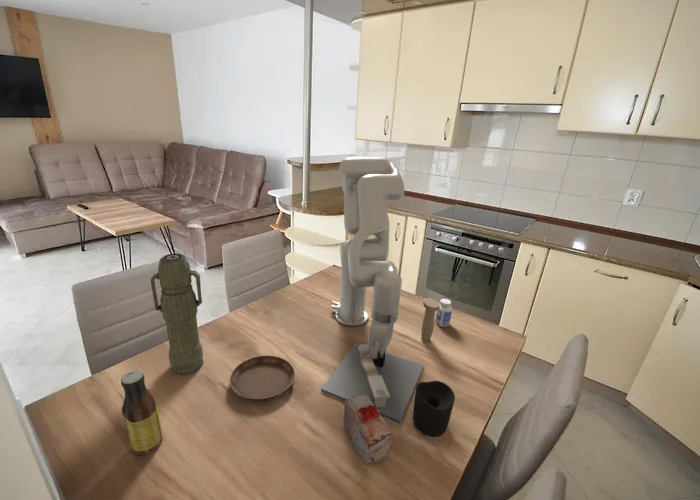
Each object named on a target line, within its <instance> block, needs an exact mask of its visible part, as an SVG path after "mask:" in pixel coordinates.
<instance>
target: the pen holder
mask: <svg viewBox="0 0 700 500" xmlns="http://www.w3.org/2000/svg"><path fill="white" fill-rule="evenodd" d="M414 393H415V394H414V401H413V411H412V423H413V425H414V427H415V428H416V429H417V431H418V432H419V433H421V434H422V435H425V436H427V437H430V438H437V437H441V436H443V435H444V434H445V433H446V432H447V429H448V425H449V423H450V419H451V415H452V411H453V407H454V404H455V400H456V395H455V392H454V390H453V389H452V388H451V387H450V386H449V385H448V384H447V383H445V382H442V381H440V380H433V381H421V382H417V384H416V387H415V390H414Z"/></svg>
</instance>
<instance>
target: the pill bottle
mask: <svg viewBox="0 0 700 500" xmlns="http://www.w3.org/2000/svg"><path fill="white" fill-rule="evenodd" d="M439 304H440V309H439V310H437V311H436V312H435V318H434V324H436V325H437V326H439V327H441V328H445V327H449V326H450V324H451V318H452V312H453V307H452V301H451V300H450V299H448V298H441V299H440V300H439Z"/></svg>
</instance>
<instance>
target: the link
mask: <svg viewBox="0 0 700 500" xmlns="http://www.w3.org/2000/svg"><path fill="white" fill-rule="evenodd" d="M360 362H361V364H362V366H363V369H364V371H365V374H366V376H367V378H368V377H369V376H379V374H378V372H377V370H376V367H375V365H374V363H373V361H372V359H371V356H370V354H369V355H361V356H360Z"/></svg>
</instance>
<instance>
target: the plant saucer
mask: <svg viewBox="0 0 700 500" xmlns="http://www.w3.org/2000/svg"><path fill="white" fill-rule="evenodd" d="M295 374H296V372H295V369H294V366H293V365H292V363H291V362H289V361H288V360H287V359H284V358H282V357H279V356H275V355H259V356H255V357H251V358H248V359H246V360H244V361H243V362H241V363H239V364H238V365H237V366H236V367H235V368H234V369H233V370H232V372H231V374H230V377H229V385H230V387H231V389H232V391H234V393H235V394H237V395H238V396H239V397H240V398H243V399H245V400H247V401H251V402H258V403H259V402H260V403H261V402H267V401H272V400H273V399H276V398H277V397H279V396H281V395H283V394H284V393H285V392H286V391H287V390H288V389H289V388H290V386H291V385H292V384H293V383H294V380H295V376H296V375H295Z"/></svg>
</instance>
